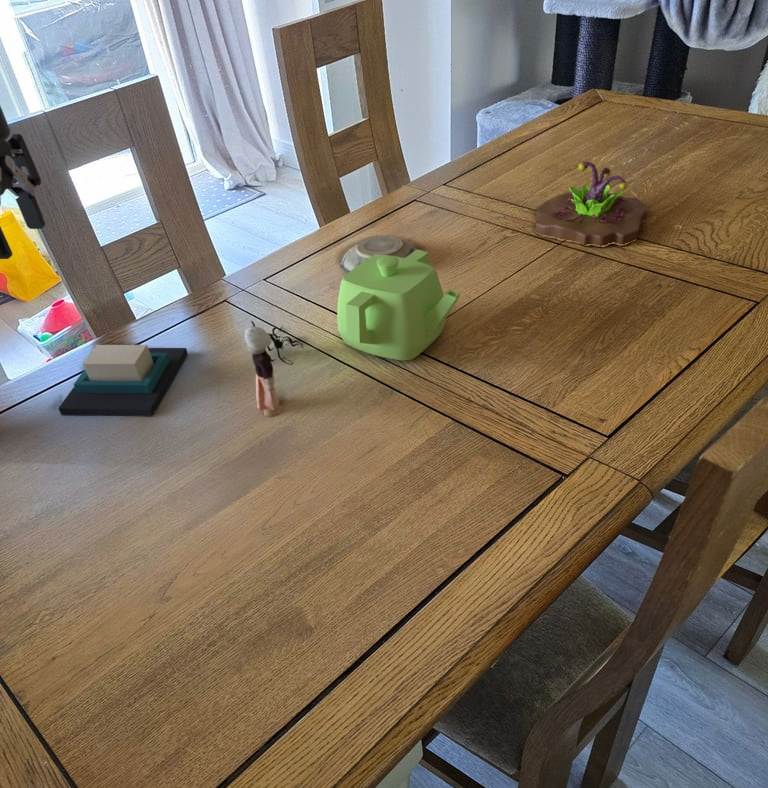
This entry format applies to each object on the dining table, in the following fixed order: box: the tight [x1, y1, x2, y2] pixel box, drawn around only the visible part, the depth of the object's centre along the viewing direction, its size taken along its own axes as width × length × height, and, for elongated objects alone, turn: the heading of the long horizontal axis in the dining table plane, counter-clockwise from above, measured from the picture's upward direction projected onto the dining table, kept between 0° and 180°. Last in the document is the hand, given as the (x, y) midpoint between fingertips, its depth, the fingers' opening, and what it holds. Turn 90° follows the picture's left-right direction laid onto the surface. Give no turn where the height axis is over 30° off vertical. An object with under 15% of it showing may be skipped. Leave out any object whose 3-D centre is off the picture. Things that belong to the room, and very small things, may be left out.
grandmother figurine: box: [244, 325, 284, 418], centre depth 93 cm, size 8×4×13 cm, turn 27°
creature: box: [250, 320, 304, 366], centre depth 106 cm, size 8×5×8 cm
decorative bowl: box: [340, 234, 417, 273], centre depth 125 cm, size 15×4×15 cm
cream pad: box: [82, 344, 154, 381], centre depth 102 cm, size 8×5×4 cm, turn 83°
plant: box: [534, 160, 649, 246], centre depth 128 cm, size 20×20×11 cm
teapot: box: [336, 249, 461, 361], centre depth 102 cm, size 18×20×13 cm
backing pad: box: [57, 347, 189, 417], centre depth 104 cm, size 14×16×3 cm
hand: (21, 242), depth 86 cm, fingers open, 8 cm apart
